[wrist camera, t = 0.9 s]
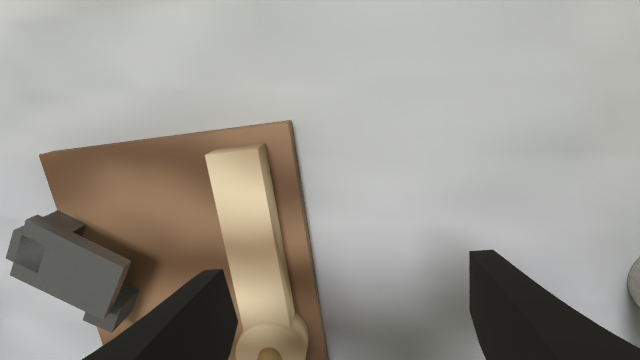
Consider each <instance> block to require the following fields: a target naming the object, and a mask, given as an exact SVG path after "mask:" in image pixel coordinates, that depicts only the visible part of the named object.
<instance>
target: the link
mask: <svg viewBox="0 0 640 360" xmlns="http://www.w3.org/2000/svg"><path fill="white" fill-rule="evenodd" d="M205 159H206V163H207V168H208V172H209V177H210V181H211V186H212V190H213V195H214V199H215V204H216V209H217V213H218V218H219V222H220V227H221V231H222V236H223V240H224V245H225V249H226V254H227V258H228V263H229V267H230V272H231V277H232V281H233V286H234V290H235V295H236V299H237V304H238V308H239V313H240V317H241V322H242V326H243V331H242V334H241V336H240V338H239V341H238V343H237V346H236V351H235V355H236V360H305V358H306V352H307V346H308V340H309V331H308V327H307V325H306V323H305V321H304V320H303V318H302V317H301V316H300V315H299V314H298V313H296V312H295V309H294V304H293V298H292V292H291V287H290V281H289V275H288V270H287V264H286V258H285V253H284V247H283V241H282V236H281V230H280V224H279V219H278V213H277V207H276V202H275V196H274V190H273V185H272V179H271V173H270V168H269V162H268V156H267V151H266V145H265V143H261V144H252V145H244V146H236V147H228V148H220V149H215V150H213V151H212V152H210V153H208V154H206V155H205Z"/></svg>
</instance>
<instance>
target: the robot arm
mask: <svg viewBox="0 0 640 360" xmlns="http://www.w3.org/2000/svg"><path fill="white" fill-rule="evenodd" d="M470 313H471V317H472V320H473V324H474V327H475V330H476V334H477V337H478V340H479V343H480V346H481V348H482V351H483V353H484V356H485V358H486V360H640V348H638V347H636V346H634V345H632V344H631V343H629V342H627V341H625V340H624V339H622V338H620V337H618V336H616V335H615V334H613V333H611V332H610V331H608V330H606V329H605V328H603V327H601V326H600V325H598V324H596V323H595V322H593V321H592V320H590V319H588V318H587V317H585V316H584V315H582V314H581V313H579V312H578V311H576V310H575V309H573V308H571V307H570V306H568V305H567V304H566V303H564V302H563V301H561V300H560V299H558V298H557V297H555V296H554V295H553V294H551V293H550V292H548V291H547V290H545V289H544V288H543V287H541V286H540V285H539V284H537V283H536V282H535V281H533V280H532V279H531V278H529V277H528V276H527V275H525V274H524V273H523V272H521V271H520V270H519V269H517V268H516V267H515V266H514V265H512V264H511V263H510V262H508V261H507V260H506V259H504V258H503V257H502V256H501V255H499V254H498V253H497V252H495V251H494V250H482V251H470ZM237 325H238V318H237V315H236V312H235V308H234V305H233V301H232V298H231V295H230V291H229V288H228V285H227V281H226V278H225V274H224V271H223V269H211V270H203V271H202V272H200V273H199V274H197V275H196V276H195V277H193V278H192V279H191V280H189V281H188V282H187V283H186V284H184V285H183V286H182V287H180V288H179V289H178V290H177V291H175V292H174V293H173V294H172V295H170V296H169V297H168V298H167V299H165V300H164V301H163V302H161V303H160V304H159V305H158V306H156V307H155V308H154V309H153V310H151V311H150V312H149V313H147V314H146V315H145V316H144V317H142V318H141V319H139V320H138V321H137V322H135V323H134V324H133V325H131V326H130V327H129V328H127V329H126V330H124V331H123V332H122V333H120V334H119V335H118V336H116V337H115V338H114V339H112V340H111V341H109V342H108V343H106V344H105V345H103V346H102V347H100V348H99V349H98V350H96V351H95V352H93V353H91V354H90V355H88V356H87V357H85V358H84V359H82V360H228V358H229V355H230V352H231V349H232V345H233V341H234V338H235V333H236V329H237Z"/></svg>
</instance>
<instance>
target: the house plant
mask: <svg viewBox="0 0 640 360" xmlns="http://www.w3.org/2000/svg"><path fill="white" fill-rule="evenodd" d="M627 285H628V289H629V292H630V294H631V296H632V298H633V300H634V301H635V302H636V304H637V305H638V306H639V307H640V258H639V259H638V260H637V261H636V262H635V263H634V265H633V267H632V269H631V271H630V273H629V275H628V281H627Z"/></svg>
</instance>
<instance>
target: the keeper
mask: <svg viewBox="0 0 640 360" xmlns="http://www.w3.org/2000/svg"><path fill="white" fill-rule="evenodd" d="M85 227H86V224H85V223H83V222H81V221H79V220H77V219H75V218H73V217H71V216H69V215H67V214H65V213H63V212H61V211H59V210H58V211H55V212H53V213H51V214H49V215H46V216H44V217H41V216H39V215H36V216H34V217H31V218H29V219H27V220H26V221H25V225H24V226H22V227H20V228H18V229H15V230H14V231H13V234H12V238H11V241H10V245H9V248H8V252H7V256H6V258H7V259H9V260H11V261H13V262H14V263H13V266H12V270H11V273H10V276H13V277H15V278H17V279H19V280H21V281H23V282H25V283H27V284H29V285H31V286H33V287H35V288H38V289H40V290H42V291H44V292H46V293H48V294H50V295H52V296H54V297H56V298H58V299H60V300H62V301H65V302H67V303H69V304H71V305H73V306H75V307H77V308H79V309H81V310H83V311H85V312H87V313H89V314H92V315H94V316H96V317H98V318H100V319H102V320H104V319H105V318H106V317H107V316H108V315H109V314H110V313H111V312H112V309H113V307H114V304H115V302H116V299H117V297H118V294H119V292H120V289H121V287H122V284H123V282H124V279H125V277H126V274H127V272H128V269H129V267H130V264H131V262H132V261H131V260H129V259H127V258H125V257H122V256H120V255H118V254H116V253H114V252H112V251H110V250H108V249H106V248H104V247H102V246H100V245H98V244H96V243H94V242H92V241H90V240H88V239H86V238H84V237H82V235H83V232H84V229H85Z"/></svg>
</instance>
